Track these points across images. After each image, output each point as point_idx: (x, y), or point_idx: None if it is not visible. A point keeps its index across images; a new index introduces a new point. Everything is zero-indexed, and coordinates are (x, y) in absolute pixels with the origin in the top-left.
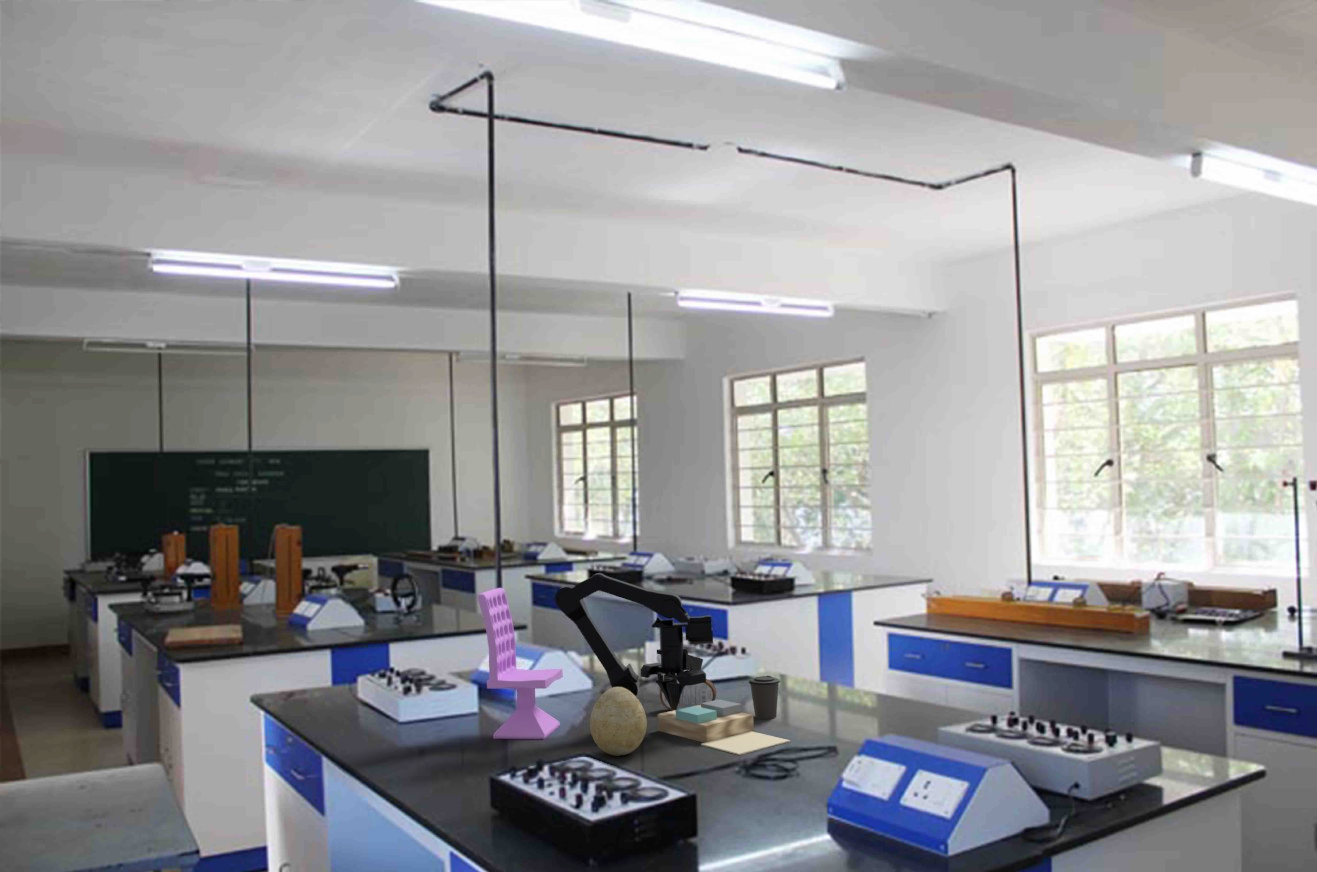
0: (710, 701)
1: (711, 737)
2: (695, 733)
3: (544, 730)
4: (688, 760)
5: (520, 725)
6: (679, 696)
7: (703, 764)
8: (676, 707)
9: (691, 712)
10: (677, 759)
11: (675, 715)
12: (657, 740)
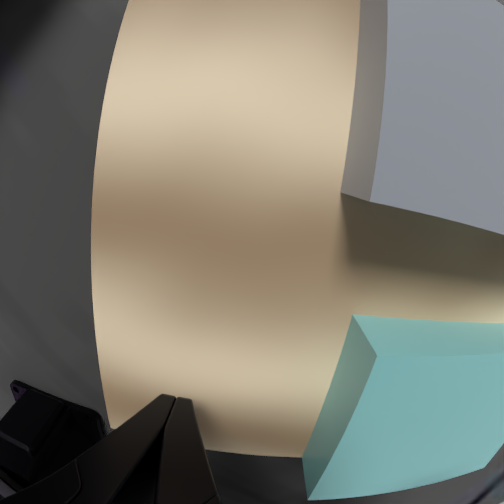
0: (393, 49)
1: None
2: None
3: None
4: (461, 483)
5: None
6: (215, 496)
7: (493, 470)
8: (194, 413)
9: (441, 470)
10: (436, 495)
11: (238, 416)
12: (276, 465)
